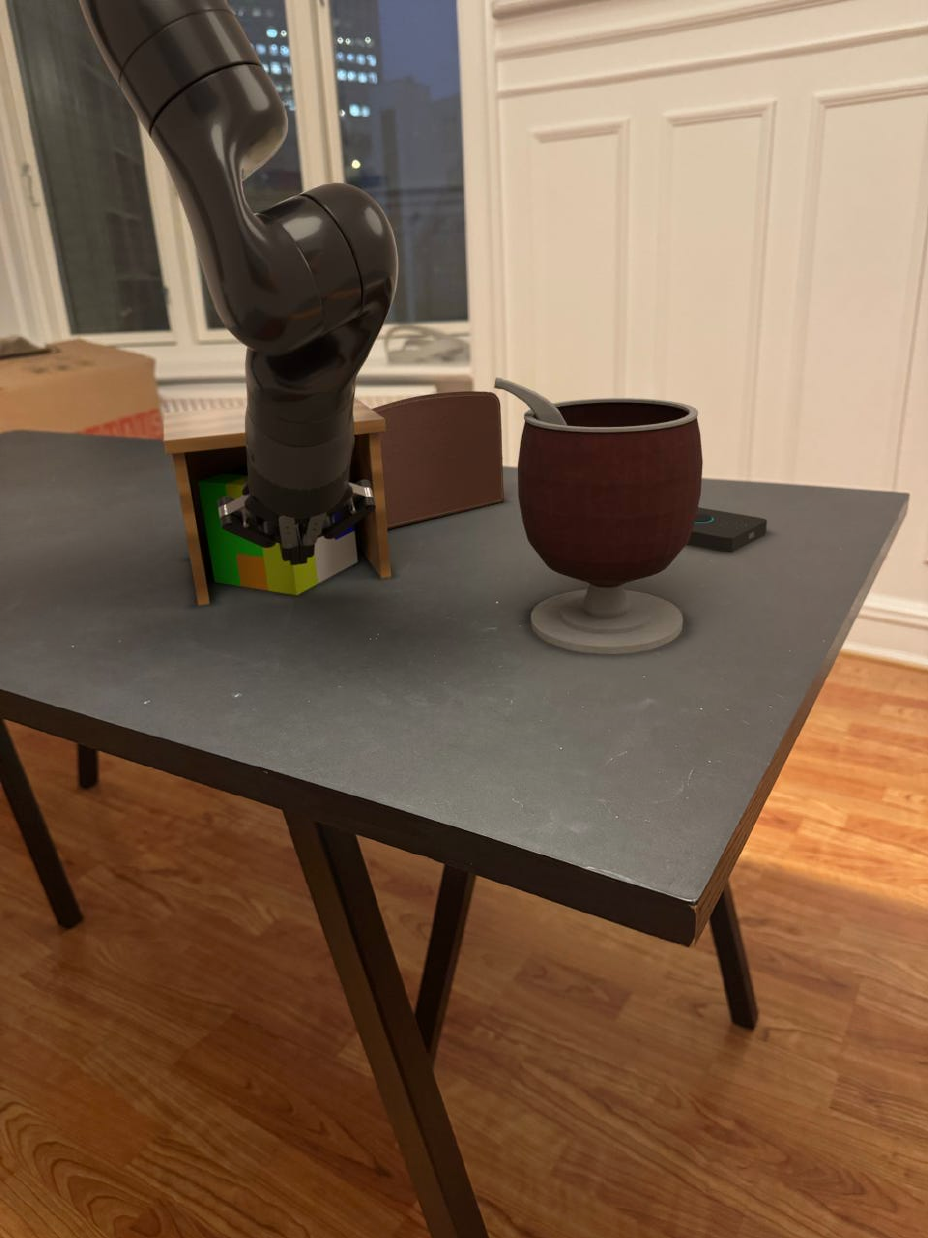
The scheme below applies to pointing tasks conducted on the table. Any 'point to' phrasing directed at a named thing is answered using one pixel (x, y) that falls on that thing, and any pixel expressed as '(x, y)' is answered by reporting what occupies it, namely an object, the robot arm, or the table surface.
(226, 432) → the shelf
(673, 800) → the table surface
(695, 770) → the table surface
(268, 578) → the puzzle toy
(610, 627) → the mate gourd
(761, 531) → the smart home device
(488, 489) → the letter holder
